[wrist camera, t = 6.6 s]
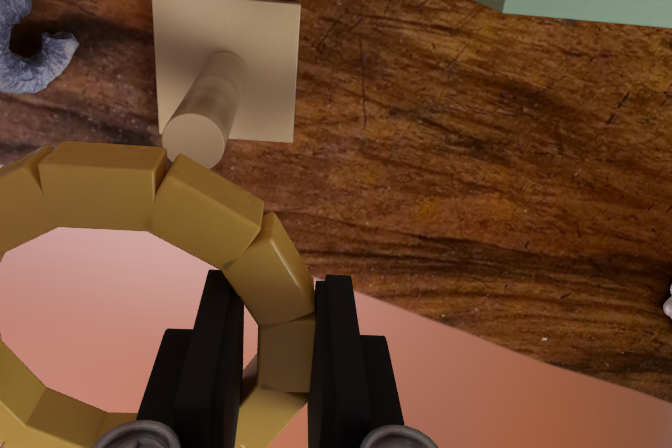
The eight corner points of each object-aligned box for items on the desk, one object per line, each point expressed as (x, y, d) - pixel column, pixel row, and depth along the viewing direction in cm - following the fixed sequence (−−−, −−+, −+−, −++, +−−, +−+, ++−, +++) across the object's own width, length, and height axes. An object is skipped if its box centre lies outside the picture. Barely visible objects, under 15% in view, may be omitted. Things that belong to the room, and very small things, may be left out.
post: (155, -11, 31) (73, 27, 20) (300, 2, 32) (302, 45, 21) (162, 129, 35) (96, 229, 24) (292, 137, 36) (290, 238, 24)
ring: (-114, 128, 10) (-162, 151, 9) (328, 156, 11) (332, 181, 10) (-25, 444, 14) (-52, 486, 13) (302, 449, 15) (303, 490, 14)
